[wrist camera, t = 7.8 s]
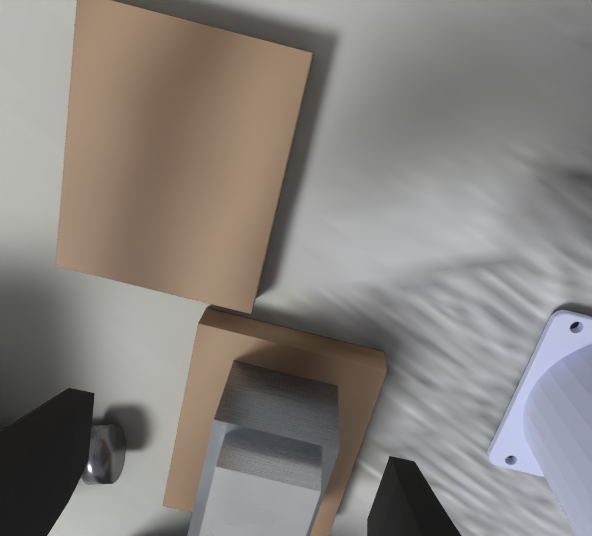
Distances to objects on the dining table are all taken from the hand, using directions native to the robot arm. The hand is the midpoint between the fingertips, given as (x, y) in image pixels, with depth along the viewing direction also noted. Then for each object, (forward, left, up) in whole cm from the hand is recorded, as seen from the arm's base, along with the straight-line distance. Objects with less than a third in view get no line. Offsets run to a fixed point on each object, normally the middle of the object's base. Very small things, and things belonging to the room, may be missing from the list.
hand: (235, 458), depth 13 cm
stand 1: (+5, -4, -10) cm, 12 cm away
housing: (-1, +7, -9) cm, 11 cm away
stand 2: (-1, +7, -10) cm, 12 cm away
